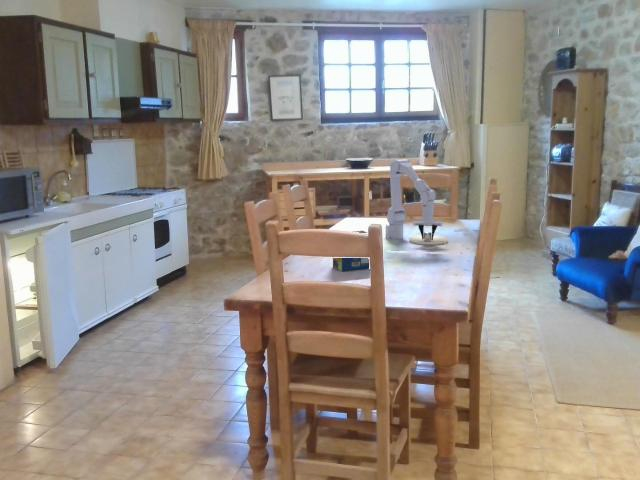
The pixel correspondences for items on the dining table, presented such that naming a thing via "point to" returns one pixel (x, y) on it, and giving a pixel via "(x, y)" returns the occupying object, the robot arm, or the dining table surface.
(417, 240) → the dial
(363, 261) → the protein box
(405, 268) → the dining table surface
